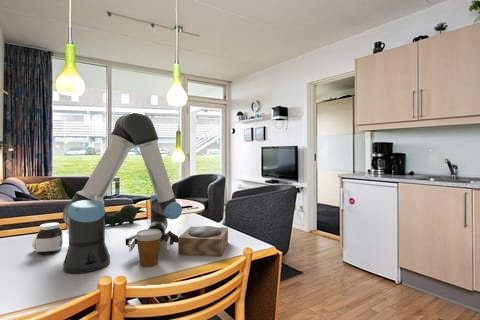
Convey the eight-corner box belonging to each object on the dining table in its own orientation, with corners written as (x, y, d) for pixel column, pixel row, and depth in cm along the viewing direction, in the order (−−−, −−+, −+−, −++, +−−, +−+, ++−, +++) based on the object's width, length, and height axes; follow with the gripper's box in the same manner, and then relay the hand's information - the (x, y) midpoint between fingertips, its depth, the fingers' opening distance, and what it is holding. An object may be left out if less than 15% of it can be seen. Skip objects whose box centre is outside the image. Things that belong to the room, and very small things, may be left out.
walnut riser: (178, 254, 112) (178, 235, 112) (190, 241, 130) (190, 224, 130) (221, 256, 110) (221, 236, 110) (227, 242, 128) (227, 225, 128)
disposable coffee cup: (167, 262, 104) (167, 230, 104) (146, 270, 96) (146, 237, 96) (150, 257, 109) (150, 227, 109) (130, 265, 101) (129, 233, 101)
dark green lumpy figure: (98, 231, 152) (144, 221, 165) (94, 198, 151) (141, 191, 164) (97, 227, 160) (141, 218, 173) (93, 196, 159) (138, 189, 172)
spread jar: (53, 255, 111) (53, 227, 111) (22, 257, 109) (22, 228, 109) (67, 246, 123) (67, 220, 122) (39, 247, 121) (39, 221, 121)
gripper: (184, 238, 125) (183, 254, 104) (127, 241, 120) (113, 259, 99) (184, 221, 125) (183, 235, 104) (127, 224, 120) (113, 238, 99)
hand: (149, 247), depth 101 cm, fingers open, 13 cm apart
